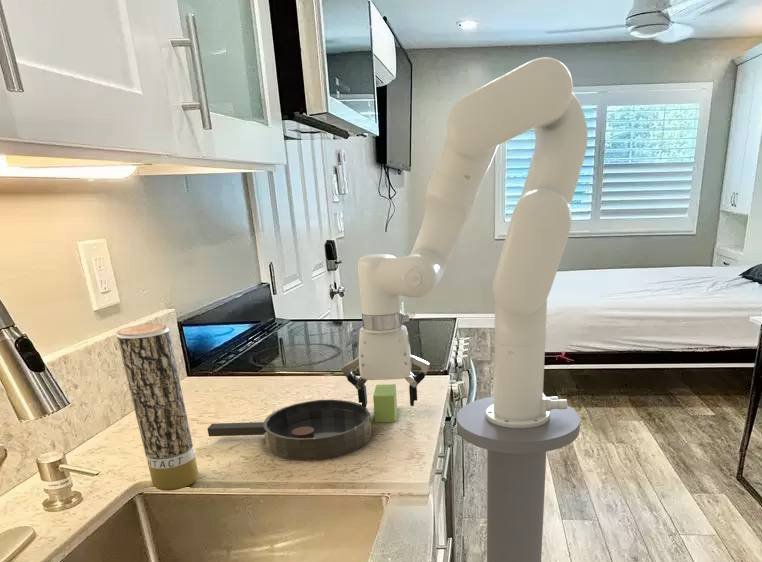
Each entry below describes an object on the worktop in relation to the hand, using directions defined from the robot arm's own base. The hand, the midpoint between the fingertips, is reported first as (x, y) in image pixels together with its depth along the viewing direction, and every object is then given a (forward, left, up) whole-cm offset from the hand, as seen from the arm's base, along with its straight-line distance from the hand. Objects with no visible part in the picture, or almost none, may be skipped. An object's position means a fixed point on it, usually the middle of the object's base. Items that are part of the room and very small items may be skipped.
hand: (388, 404), depth 115 cm
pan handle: (+27, +10, -1) cm, 29 cm away
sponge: (+1, 0, -2) cm, 2 cm away
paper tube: (+32, +26, -3) cm, 42 cm away
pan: (+12, +10, -2) cm, 16 cm away
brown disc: (+15, +10, -2) cm, 18 cm away
